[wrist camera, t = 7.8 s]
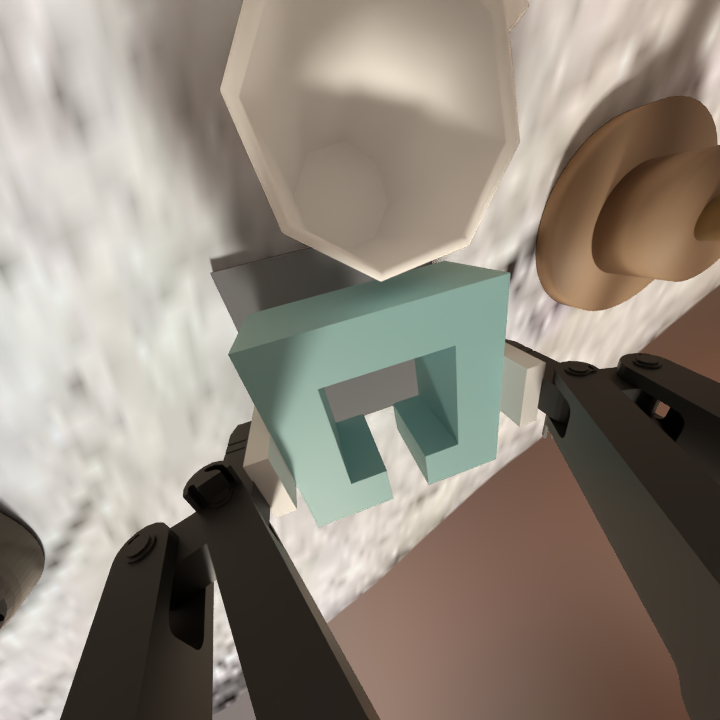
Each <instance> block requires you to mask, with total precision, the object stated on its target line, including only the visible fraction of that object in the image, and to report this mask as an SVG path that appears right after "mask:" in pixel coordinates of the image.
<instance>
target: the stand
mask: <svg viewBox="0 0 720 720" xmlns="http://www.w3.org/2000/svg"><path fill="white" fill-rule="evenodd" d="M719 258H720V145H717V133H716V127H715V123H714V121H713V118H712V115H711V114H710V112H709V111H708V109H707V108H706V107H705V106H704V105H703V104H702V103H701V102H700V101H698V100H696V99H693V98H691V97H685V96H674V97H668V98H665V99H662V100H659V101H656V102H653V103H650V104H647V105H644V106H641V107H639V108H636V109H633V110H630V111H627V112H625V113H623V114H621V115H619V116H617V117H615V118H613V119H612V120H610V121H609V122H607V123H606V124H604V125H603V126H602V127H601V128H599V129H598V130H597V131H596V132H595V133H594V134H592V135H591V136H590V137H589V139H588V140H587V141H586V142H585V143H584V144H583V145H582V146H581V147H580V148H579V150H578V151H577V152H576V153H575V155H574V156H573V157H572V158H571V160H570V161H569V163H568V164H567V166H566V167H565V169H564V170H563V172H562V173H561V175H560V177H559V179H558V181H557V182H556V184H555V186H554V188H553V190H552V192H551V195H550V197H549V199H548V201H547V204H546V207H545V210H544V212H543V215H542V219H541V223H540V226H539V231H538V237H537V244H536V266H537V272H538V276H539V279H540V282H541V285H542V286H543V288H544V290H545V292H546V293H547V294H548V295H549V296H550V297H551V298H552V299H553V300H555V301H556V302H558V303H560V304H564V305H568V306H571V307H575V308H579V309H583V310H587V311H598V310H604V309H608V308H611V307H614V306H616V305H619V304H621V303H623V302H625V301H627V300H628V299H630V298H631V297H633V296H634V295H636V294H637V293H639V292H640V291H641V290H642V289H644V288H645V287H646V286H647V285H648V284H650V283H651V282H652V281H653V280H654V279H658V280H666V281H674V282H679V281H685V280H688V279H690V278H693V277H695V276H697V275H698V274H700V273H702V272H703V271H705V270H706V269H707V268H709V267H710V266H711V265H712V264H714V263H715V262H716V261H717V260H718V259H719Z"/></svg>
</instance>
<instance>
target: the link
mask: <svg viewBox="0 0 720 720" xmlns="http://www.w3.org/2000/svg"><path fill="white" fill-rule="evenodd" d="M509 284H510V273H508V272H503V271H497V270H492V269H486V268H481V267H476V266H470V265H465V264H459V263H454V262H448V261H442V262H438V263H435V264H431V265H427V266H424V267H420V268H416V269H413V270H409V271H405V272H403V273H401V274H398V275H396V276H393V277H391V278H388V279H386V280H384V281H379V280H377V279H376V280H372V281H369V282H365V283H361V284H358V285H354V286H350V287H347V288H343V289H339V290H336V291H332V292H328V293H325V294H321V295H317V296H314V297H310V298H306V299H303V300H299V301H295V302H292V303H288V304H284V305H281V306H277V307H273V308H270V309H266V310H262V311H259V312H255V313H251V314H248V315H247V317H246V319H245V321H244V323H243V325H242V327H241V329H240V331H239V333H238V335H237V337H236V339H235V341H234V344H233V346H232V348H231V350H230V352H229V354H228V355H229V357H230V359H231V361H232V363H233V364H234V366H235V368H236V370H237V372H238V374H239V376H240V378H241V380H242V382H243V384H244V386H245V387H246V389H247V391H248V393H249V395H250V397H251V399H252V401H253V403H254V405H255V407H256V409H257V410H258V412H259V414H260V416H261V418H262V420H263V422H264V424H265V426H266V428H267V430H268V432H269V433H270V434H271V436H272V438H273V440H274V442H275V444H276V446H277V447H278V449H279V451H280V453H281V455H282V457H283V459H284V461H285V463H286V465H287V467H288V469H289V471H290V472H291V474H292V476H293V478H294V480H295V482H296V485H297V487H298V489H299V491H300V493H301V495H302V497H303V499H304V501H305V502H306V504H307V506H308V508H309V510H310V512H311V514H312V516H313V518H314V520H315V522H316V524H317V525H318V527H321V526H324V525H326V524H329V523H332V522H334V521H337V520H339V519H342V518H345V517H347V516H350V515H352V514H355V513H358V512H360V511H363V510H365V509H368V508H371V507H373V506H376V505H378V504H381V503H383V502H386V501H389V500H391V499H393V495H392V491H391V486H390V482H389V478H388V474H387V470H386V468H385V465H384V463H383V461H382V458H381V456H380V453H379V451H378V449H377V446H376V444H375V441H374V439H373V436H372V434H371V432H370V429H369V427H368V424H367V422H366V420H365V417H364V415H363V414H361V415H358V416H355V417H352V418H349V419H346V420H343V421H340V422H337V423H336V422H335V419H334V416H333V413H332V410H331V407H330V404H329V401H328V399H327V396H326V393H325V390H324V387H327V386H330V385H333V384H336V383H339V382H342V381H345V380H348V379H352V378H355V377H358V376H361V375H364V374H367V373H370V372H374V371H377V370H380V369H383V368H386V367H389V366H392V365H396V364H399V363H402V362H405V361H408V360H411V359H414V361H415V369H416V377H417V386H418V394H419V395H417V396H414V397H411V398H408V399H405V400H402V401H399V402H396V403H393V407H394V413H395V418H396V424H397V429H398V431H399V433H400V434H401V436H402V438H403V440H404V441H405V443H406V445H407V447H408V449H409V450H410V452H411V454H412V456H413V458H414V459H415V461H416V463H417V465H418V467H419V468H420V470H421V472H422V474H423V475H424V477H425V479H426V481H427V483H428V484H429V485H430V484H433V483H435V482H438V481H440V480H443V479H446V478H448V477H451V476H453V475H456V474H459V473H461V472H464V471H466V470H469V469H472V468H474V467H477V466H479V465H482V464H485V463H487V462H490V461H492V460H495V459H496V452H497V439H498V426H499V413H500V410H499V408H500V394H501V381H502V368H503V356H504V349H505V336H506V323H507V310H508V297H509Z"/></svg>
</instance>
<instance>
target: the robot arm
mask: <svg viewBox="0 0 720 720" xmlns="http://www.w3.org/2000/svg"><path fill="white" fill-rule="evenodd" d="M660 401H661V402H663V403H664V404H666V405H668V406H669V407H670V409H669V411H668V413H667V415H666V416H665V417H662V416H659V415H658V414H656V413H655V411H656V409H657V407H658V405H659V403H660ZM538 409H540V410H541V411H542V412H544V413H545V414H546V417H545V422H544V427H543V433H542V435H543V438H546V437H547V433H548V431H550V433H551V434H552V435H551V438H554V440H555V442H556V444H557V446H558V447H559V449H560V451H561V453H562V455H563V456H564V459H565V460H566V462H567V464H568V466H569V468H570V469H571V471H572V473H573V475H574V477H575V479H576V481H577V482H578V484H579V486H580V488H581V490H582V492H583V494H584V496H585V497H586V499H587V501H588V503H589V505H590V507H591V508H592V510H593V512H594V514H595V516H596V518H597V520H598V521H599V523H600V525H601V527H602V529H603V530H604V533H605V534H606V536H607V538H608V540H609V542H610V543H611V546H612V547H613V549H614V551H615V553H616V555H617V557H618V558H619V560H620V562H621V564H622V566H623V568H624V570H625V571H626V573H627V575H628V577H629V579H630V581H631V583H632V584H633V586H634V588H635V590H636V591H637V593H638V595H639V597H640V599H641V601H642V603H643V605H644V606H645V608H646V610H647V612H648V614H649V616H650V618H651V619H652V622H653V623H654V625H655V627H656V629H657V631H658V633H659V634H660V636H661V638H662V640H663V642H664V644H665V645H666V647H667V649H668V651H669V653H670V654H671V657H672V659H673V661H674V663H675V665H676V668H677V671H678V674H679V680H680V687H681V695H682V698H683V701H684V704H685V708H686V711H687V713H688V715H689V717H690V719H691V720H720V383H718V382H716V381H714V380H711V379H709V378H707V377H705V376H702V375H700V374H698V373H696V372H694V371H692V370H689V369H687V368H685V367H683V366H680V365H678V364H676V363H674V362H672V361H669V360H667V359H665V358H662V357H659V356H654V355H651V354H646V353H643V354H642V353H634V354H627V355H624V356H622V357H621V358H620V360H619V363H618V366H617V367H614V368H605V369H598V368H597V367H595V366H593V365H591V364H588V363H584V362H578V361H567V362H561V363H559V362H557V361H555V360H553V359H551V358H549V357H547V356H545V355H543V354H540V353H538V352H536V351H533V350H532V349H530V348H528V347H525V346H524V345H522V344H520V343H518V342H515V341H511V340H507V339H505V349H504V356H503V368H502V381H501V394H500V408H499V410H500V411H502V412H503V413H504V414H505V415H506V416H507V417H509V418H510V419H511V420H512V421H513V422H515V423H516V424H517V425H518V426H519V427H520V426H523V425H525V424H528V423H531V422H533V421H536V418H537V413H538ZM183 497H184V499H185V500H186V501H187V502H188V503H189V504H190V505H191V506H192V507H193V509H194V510H195V511H196V512H195V513H194V514H192V515H191V516H189V517H187V518H186V519H184V520H183V521H181V522H179V523H178V524H176V525H175V526H173V527H171V528H169V527H168V526H167V525H166V524H165V523H154V524H151V525H149V526H146V527H145V528H143V529H142V530H140V531H139V532H137V533H136V534H135V535H134V536H132V537H131V538H130V539H129V540H128V541H127V542H126V543H125V544H124V546H123V547H122V548H121V549H120V551H119V552H118V553H117V555H116V557H115V559H114V561H113V563H112V566H111V569H110V572H109V575H108V578H107V581H106V584H105V587H104V590H103V593H102V596H101V599H100V602H99V605H98V608H97V611H96V614H95V617H94V620H93V623H92V626H91V629H90V632H89V635H88V638H87V641H86V644H85V647H84V650H83V653H82V656H81V659H80V662H79V665H78V668H77V671H76V674H75V677H74V680H73V683H72V686H71V689H70V692H69V695H68V698H67V701H66V704H65V706H64V709H63V712H62V715H61V718H60V720H212V690H213V605H214V581H215V580H216V579H217V582H218V586H219V589H220V593H221V596H222V600H223V603H224V607H225V610H226V614H227V617H228V621H229V624H230V628H231V632H232V635H233V639H234V642H235V646H236V649H237V653H238V656H239V660H240V663H241V667H242V670H243V674H244V678H245V681H246V685H247V688H248V692H249V695H250V699H251V702H252V706H253V709H254V713H255V716H256V720H380V718H379V716H378V714H377V713H376V711H375V709H374V707H373V705H372V704H371V702H370V700H369V699H368V696H367V695H366V693H365V691H364V689H363V687H362V686H361V684H360V682H359V680H358V679H357V677H356V675H355V673H354V671H353V670H352V668H351V666H350V664H349V662H348V661H347V659H346V657H345V655H344V653H343V652H342V650H341V648H340V647H339V645H338V643H337V641H336V639H335V637H334V636H333V634H332V632H331V630H330V628H329V627H328V625H327V623H326V621H325V619H324V618H323V616H322V614H321V612H320V610H319V609H318V607H317V605H316V603H315V602H314V600H313V598H312V596H311V594H310V593H309V591H308V589H307V587H306V585H305V584H304V582H303V580H302V578H301V576H300V575H299V573H298V571H297V569H296V568H295V566H294V564H293V562H292V560H291V559H290V557H289V555H288V553H287V551H286V550H285V548H284V546H283V544H282V542H281V541H280V539H279V537H278V535H277V534H276V532H275V530H274V528H273V527H272V525H271V524H270V522H269V519H270V510H271V511H272V513H273V514H274V516H275V517H276V518H277V517H279V516H282V515H285V514H287V513H290V512H293V511H295V510H297V499H296V482H295V480H294V478H293V476H292V474H291V472H290V471H289V469H288V467H287V465H286V463H285V461H284V459H283V457H282V455H281V453H280V451H279V449H278V447H277V446H276V444H275V442H274V440H273V438H272V436H271V434H270V433H269V432H268V430H267V428H266V426H265V424H264V422H263V420H262V418H261V416H260V414H259V412H258V410H257V409H256V407H255V406H254V411H253V416H252V421H250V422H247V423H244V424H241V425H238V426H237V427H236V429H235V430H234V431H233V433H232V434H231V436H230V439H229V443H228V447H227V450H226V455H225V457H224V461H217V462H213V463H211V464H209V465H207V466H205V467H203V468H202V469H200V470H199V471H198V472H196V473H195V474H194V475H193V476H192V477H191V479H190V480H189V481H188V482H187V484H186V486H185V488H184V490H183ZM43 569H44V555H43V552H42V549H41V547H40V545H39V544H38V542H37V541H36V539H35V538H34V537H33V536H32V535H31V534H30V533H29V532H28V531H27V530H26V529H25V528H24V527H22V526H21V525H20V524H18V523H17V522H15V521H14V520H12V519H11V518H9V517H7V516H6V515H4V514H2V513H0V630H1V629H2V628H3V627H4V626H5V625H6V624H7V623H8V622H9V620H10V619H11V618H12V617H13V616H14V614H15V613H16V612H17V610H18V609H19V607H20V606H21V605H22V603H23V602H24V600H25V599H26V597H27V596H28V595H29V593H30V592H31V590H32V589H33V588H34V586H35V585H36V583H37V582H38V581H39V579H40V577H41V575H42V572H43Z"/></svg>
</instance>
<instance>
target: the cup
mask: <svg viewBox="0 0 720 720" xmlns="http://www.w3.org/2000/svg"><path fill="white" fill-rule="evenodd" d="M528 7H529V3H528V0H243V4H242V8H241V11H240V15H239V19H238V23H237V27H236V30H235V34H234V38H233V42H232V46H231V49H230V53H229V57H228V61H227V65H226V69H225V72H224V76H223V80H222V84H221V88H220V92H221V94H222V96H223V99H224V101H225V103H226V106H227V108H228V110H229V112H230V115H231V117H232V119H233V122H234V124H235V126H236V128H237V131H238V133H239V135H240V138H241V140H242V142H243V144H244V147H245V149H246V151H247V154H248V156H249V158H250V160H251V163H252V165H253V167H254V170H255V172H256V174H257V177H258V179H259V181H260V183H261V186H262V188H263V190H264V193H265V195H266V197H267V199H268V202H269V204H270V206H271V209H272V211H273V213H274V215H275V218H276V220H277V222H278V225H279V227H280V229H281V231H282V233H283V234H285V235H287V236H289V237H291V238H293V239H295V240H297V241H299V242H301V243H303V244H305V245H307V246H309V247H311V248H313V249H316V250H318V251H320V252H322V253H324V254H326V255H328V256H330V257H332V258H334V259H336V260H338V261H340V262H342V263H344V264H346V265H348V266H350V267H352V268H354V269H356V270H358V271H360V272H362V273H364V274H366V275H368V276H370V277H372V278H375V279H377V280H379V281H384V280H386V279H388V278H391V277H393V276H396V275H398V274H401V273H403V272H405V271H408V270H410V269H413V268H415V267H417V266H420V265H422V264H425V263H427V262H430V261H432V260H434V259H437V258H439V257H442V256H444V255H446V254H449V253H451V252H454V251H456V250H459V249H461V248H463V247H466V246H468V245H469V244H470V242H471V240H472V238H473V236H474V234H475V232H476V230H477V228H478V226H479V224H480V222H481V220H482V218H483V216H484V214H485V211H486V209H487V207H488V205H489V203H490V201H491V199H492V197H493V195H494V193H495V191H496V189H497V187H498V185H499V183H500V181H501V179H502V177H503V175H504V173H505V171H506V169H507V167H508V165H509V163H510V161H511V159H512V157H513V155H514V153H515V151H516V149H517V147H518V145H519V143H520V137H519V127H518V116H517V106H516V96H515V86H514V75H513V65H512V55H511V45H510V35H509V31H510V30H511V29H512V28H513V27H514V25H515V24H516V23H517V22H518V21H519V19H520V18H521V17H522V16H523V15H524V13H525V12H526V10H527V8H528Z"/></svg>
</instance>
